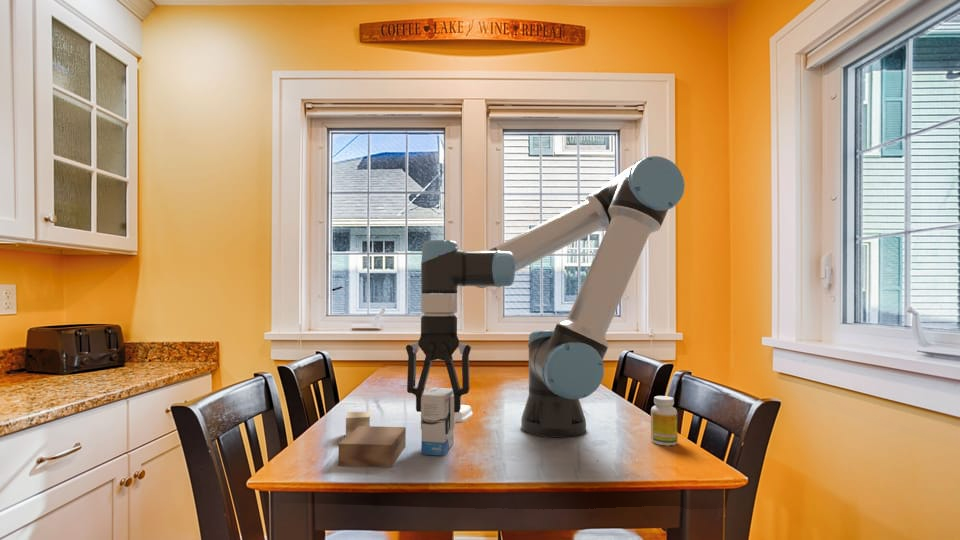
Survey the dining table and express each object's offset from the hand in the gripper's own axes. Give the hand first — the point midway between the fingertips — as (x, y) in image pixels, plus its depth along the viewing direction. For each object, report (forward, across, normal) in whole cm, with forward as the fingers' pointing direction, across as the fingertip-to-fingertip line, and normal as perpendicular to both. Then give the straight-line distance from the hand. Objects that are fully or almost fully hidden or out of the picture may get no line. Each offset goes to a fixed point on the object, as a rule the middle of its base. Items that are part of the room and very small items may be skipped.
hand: (438, 427), depth 101 cm
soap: (+5, -1, -26) cm, 27 cm away
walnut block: (+4, +12, +5) cm, 14 cm away
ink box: (+5, 0, 0) cm, 5 cm away
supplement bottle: (+5, -48, -8) cm, 49 cm away
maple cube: (+4, +19, -7) cm, 21 cm away
